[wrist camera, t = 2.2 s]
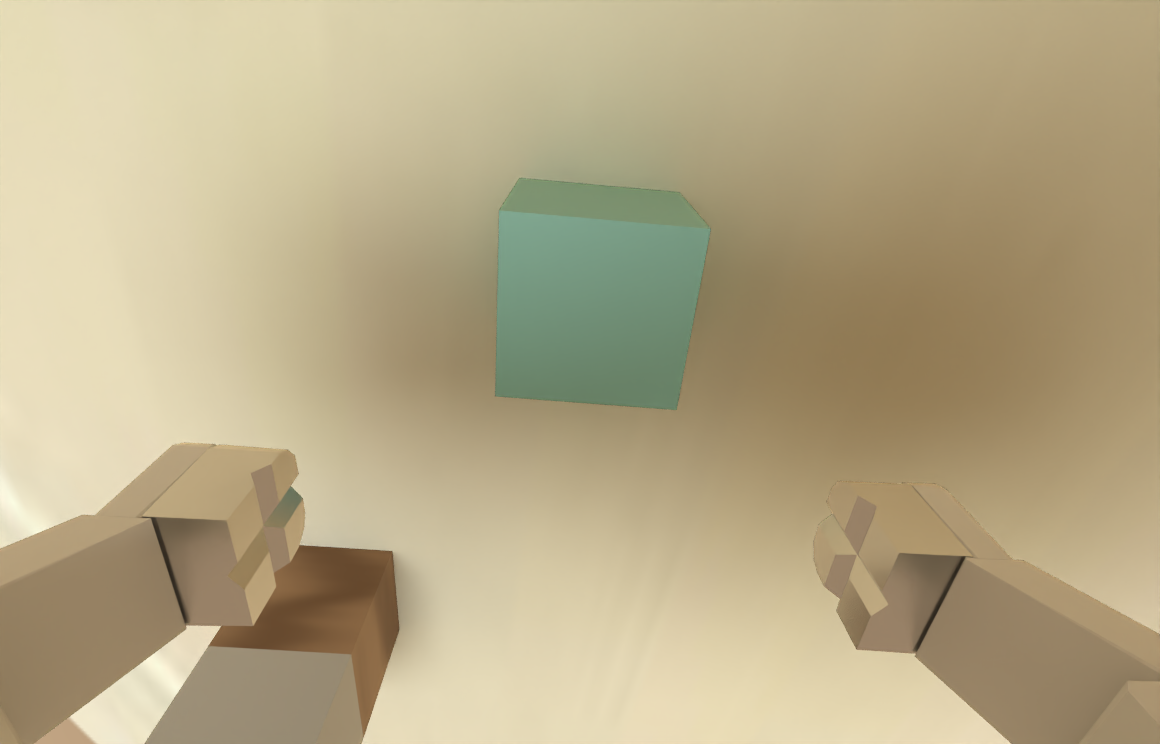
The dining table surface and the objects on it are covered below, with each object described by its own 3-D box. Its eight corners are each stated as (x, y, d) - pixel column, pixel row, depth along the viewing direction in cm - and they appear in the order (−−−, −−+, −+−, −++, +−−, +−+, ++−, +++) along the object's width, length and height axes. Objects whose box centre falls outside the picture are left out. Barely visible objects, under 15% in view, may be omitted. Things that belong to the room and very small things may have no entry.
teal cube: (678, 191, 18) (711, 229, 14) (655, 337, 20) (676, 410, 16) (519, 177, 18) (499, 210, 13) (514, 325, 20) (495, 396, 16)
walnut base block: (392, 551, 25) (350, 654, 20) (399, 629, 27) (363, 737, 23) (275, 543, 25) (208, 646, 20) (292, 622, 27) (235, 730, 23)
